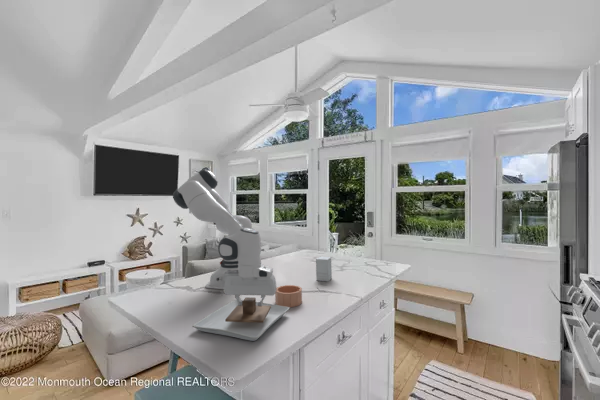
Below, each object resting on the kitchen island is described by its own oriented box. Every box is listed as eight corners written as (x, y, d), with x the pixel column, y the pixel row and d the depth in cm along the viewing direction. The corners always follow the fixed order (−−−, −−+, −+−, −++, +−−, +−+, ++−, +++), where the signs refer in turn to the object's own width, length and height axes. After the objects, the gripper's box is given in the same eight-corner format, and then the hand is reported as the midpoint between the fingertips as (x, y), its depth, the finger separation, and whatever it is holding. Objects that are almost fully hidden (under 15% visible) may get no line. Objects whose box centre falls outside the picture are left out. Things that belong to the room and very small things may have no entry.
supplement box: (332, 278, 168) (331, 257, 168) (327, 281, 161) (327, 259, 161) (320, 277, 171) (320, 256, 171) (315, 280, 165) (315, 258, 164)
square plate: (235, 307, 128) (234, 298, 128) (290, 315, 118) (290, 306, 117) (191, 334, 103) (191, 323, 102) (257, 348, 92) (257, 336, 92)
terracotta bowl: (273, 306, 126) (273, 293, 126) (278, 297, 138) (278, 285, 137) (300, 307, 124) (300, 293, 124) (302, 297, 136) (302, 285, 136)
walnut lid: (225, 321, 104) (225, 305, 104) (237, 306, 118) (237, 292, 118) (262, 322, 102) (262, 306, 102) (270, 307, 116) (270, 293, 116)
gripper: (220, 272, 108) (221, 308, 108) (274, 272, 106) (274, 309, 106) (226, 268, 114) (227, 302, 114) (277, 268, 112) (277, 303, 112)
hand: (250, 305), depth 110 cm, fingers open, 6 cm apart
